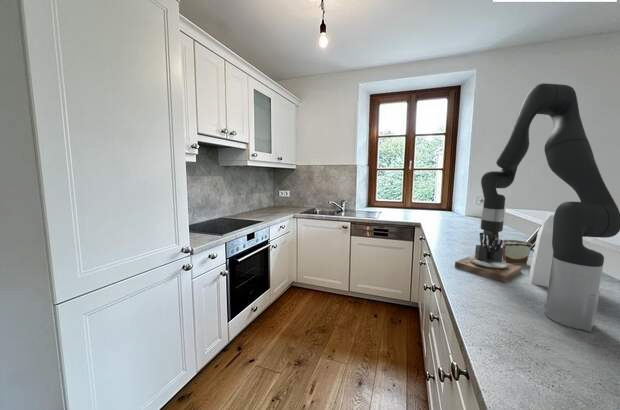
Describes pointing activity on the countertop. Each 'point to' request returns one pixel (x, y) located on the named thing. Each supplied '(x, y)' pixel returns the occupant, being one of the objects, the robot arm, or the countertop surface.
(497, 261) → the dial
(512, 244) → the food container
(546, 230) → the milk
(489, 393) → the countertop surface
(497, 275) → the wooden board
